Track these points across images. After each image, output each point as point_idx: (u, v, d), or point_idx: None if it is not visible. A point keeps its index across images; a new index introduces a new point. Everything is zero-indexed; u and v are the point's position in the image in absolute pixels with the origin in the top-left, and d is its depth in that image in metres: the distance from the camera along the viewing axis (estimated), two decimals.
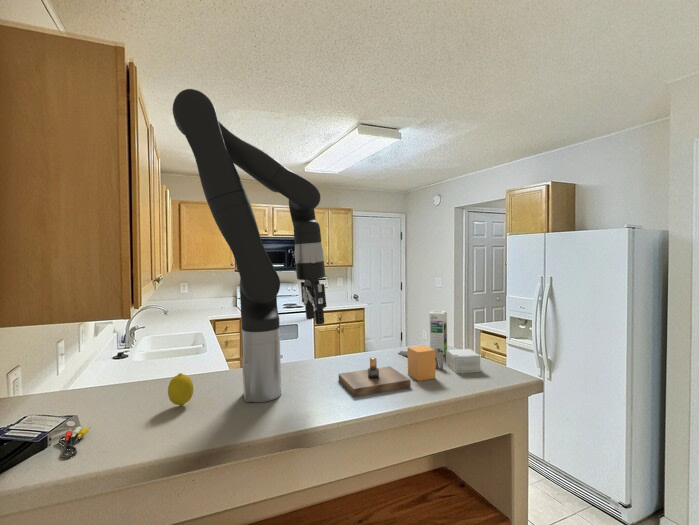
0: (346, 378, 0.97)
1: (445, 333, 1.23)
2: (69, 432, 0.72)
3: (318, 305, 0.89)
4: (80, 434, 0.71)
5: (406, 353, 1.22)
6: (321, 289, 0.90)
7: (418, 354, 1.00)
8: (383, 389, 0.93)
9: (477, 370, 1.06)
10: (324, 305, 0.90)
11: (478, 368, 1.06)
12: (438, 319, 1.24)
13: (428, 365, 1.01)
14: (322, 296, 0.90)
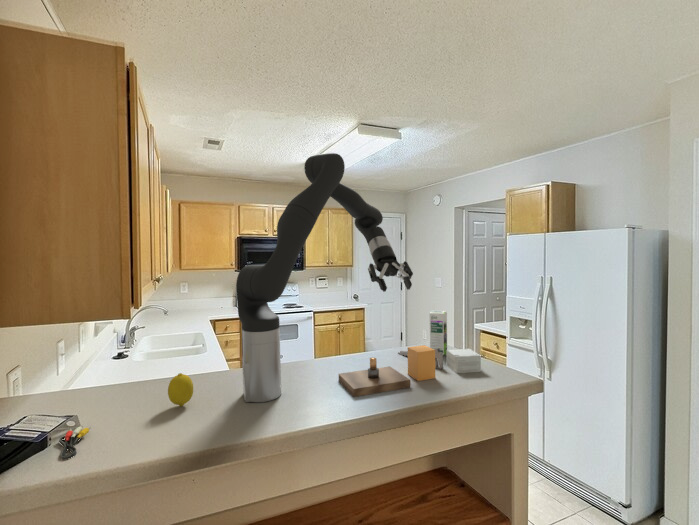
0: (346, 378, 0.97)
1: (445, 333, 1.23)
2: (69, 432, 0.72)
3: None
4: (80, 434, 0.71)
5: (406, 353, 1.23)
6: None
7: (418, 354, 1.00)
8: (383, 389, 0.93)
9: (477, 370, 1.06)
10: None
11: (478, 368, 1.06)
12: (438, 319, 1.24)
13: (428, 365, 1.01)
14: None
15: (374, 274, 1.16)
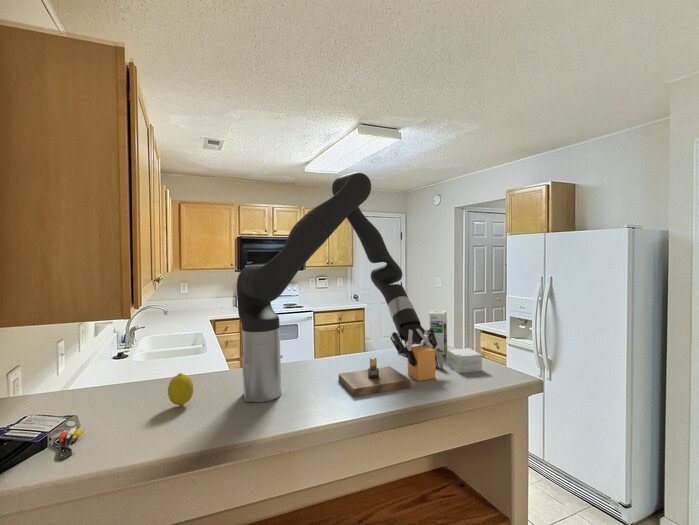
0: (346, 378, 0.97)
1: (445, 333, 1.23)
2: (63, 433, 0.71)
3: None
4: (75, 435, 0.71)
5: None
6: None
7: (418, 354, 1.00)
8: (383, 389, 0.93)
9: (479, 369, 1.07)
10: None
11: (480, 367, 1.07)
12: (438, 319, 1.24)
13: (428, 365, 1.01)
14: None
15: (402, 346, 1.03)
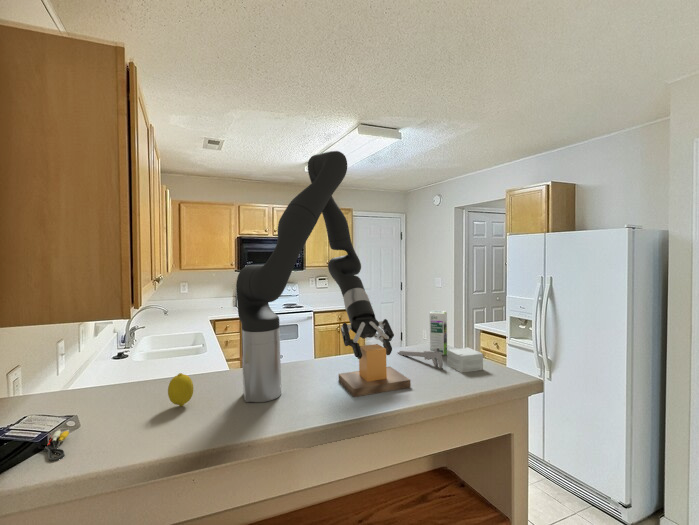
0: (346, 378, 0.97)
1: (445, 333, 1.23)
2: None
3: None
4: (62, 437, 0.70)
5: (406, 353, 1.23)
6: None
7: (367, 353, 0.95)
8: (383, 389, 0.93)
9: (480, 368, 1.08)
10: None
11: (481, 366, 1.08)
12: (438, 319, 1.24)
13: (379, 365, 0.96)
14: None
15: (347, 337, 0.97)
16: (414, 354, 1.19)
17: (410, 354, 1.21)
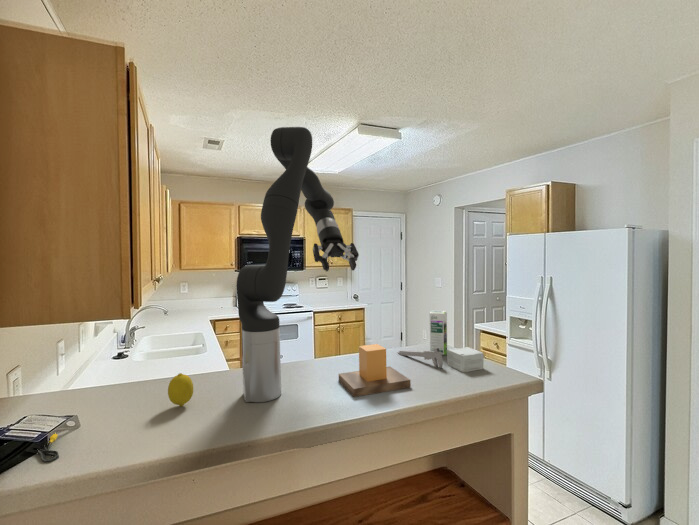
0: (346, 378, 0.97)
1: (445, 333, 1.23)
2: None
3: None
4: (52, 439, 0.69)
5: (406, 353, 1.23)
6: None
7: (367, 353, 0.95)
8: (383, 389, 0.93)
9: (481, 367, 1.09)
10: None
11: (482, 365, 1.09)
12: (438, 319, 1.24)
13: (379, 365, 0.96)
14: None
15: (317, 253, 1.12)
16: (414, 354, 1.19)
17: (410, 354, 1.21)
